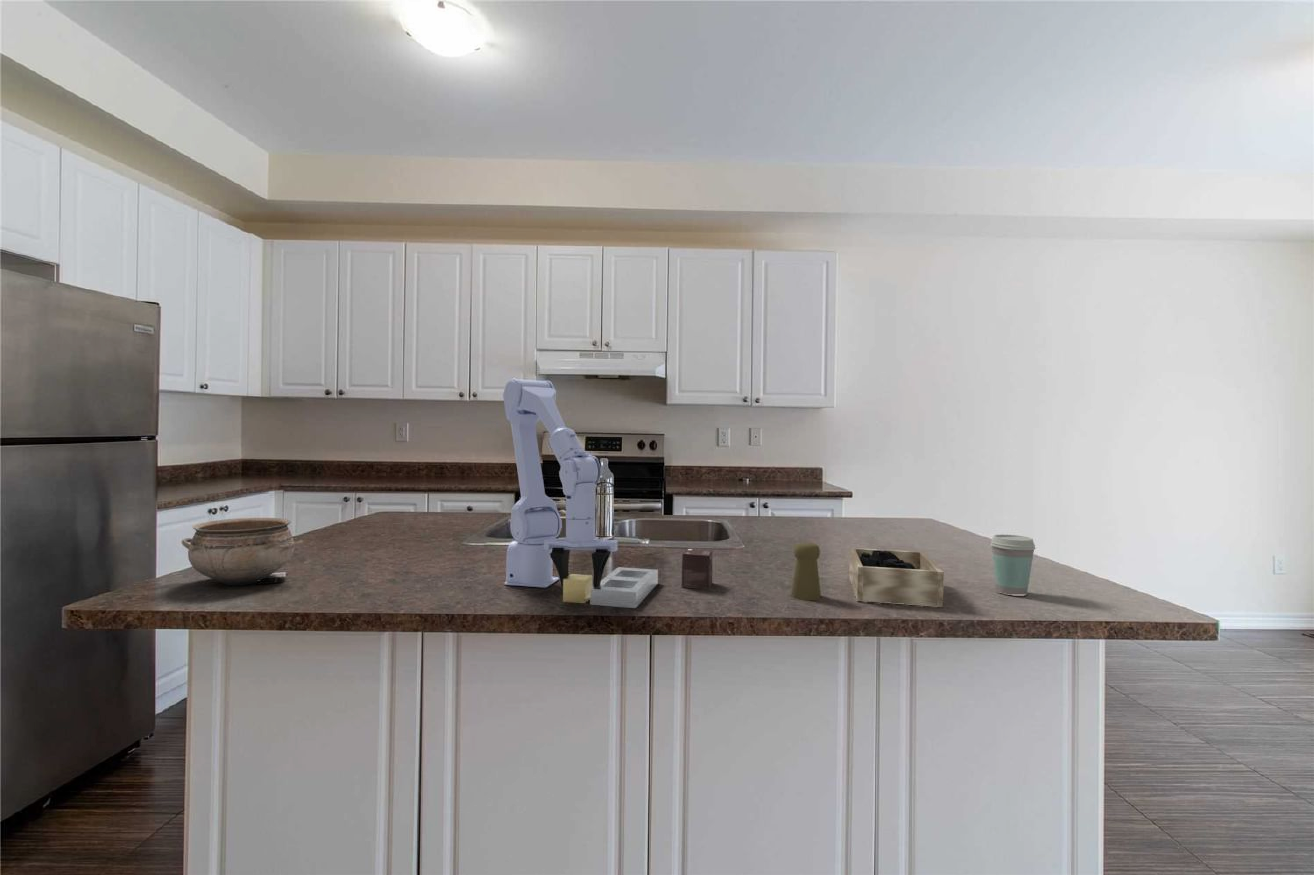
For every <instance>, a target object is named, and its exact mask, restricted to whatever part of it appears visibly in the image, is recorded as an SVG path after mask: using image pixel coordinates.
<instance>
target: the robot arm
mask: <svg viewBox="0 0 1314 875" xmlns="http://www.w3.org/2000/svg"><path fill="white" fill-rule="evenodd" d="M502 398H503V405H504V411H505V417H506V420H508V421H509V422H510V427H511V434H512V441H513V447H514V448H513V450H514V457H515V464H516V469H517V477H518V483H519V484H518V485H519V492H520V499H519V500H517V501H516V502H515V503H514V505H513V506H512V508H511V509H510V524H509V525H510V529H509V530H510V533H511V536H512V537H513V539H514V540H512V541H511V542H509V544H508V546H507V550H506V557H505V558H506V560H505V563H506V564H505V565H506V566H505V567H506V568H505V582H504V585H505V586H506V585H507V586H521V587H531V588H532V587H533V588H534V587H535V588H544V589H545V588H547V587H549V586H552V584H554V583H555V582H557V581H558V580H559V581H560V585H561V588H563V579H564V578H566V577H567V576H569V575H570V574H569V565H570V564H569V563H570V562H569V561H570V554H571V551H594V552H592V553H591V560H592V570H593V576H592V587H598V586H599V585H600V583H601V580H602V579H603V578H602V577H603V574H604V570H605V567H606V565H607V561H608V560H609V558H610V555H611V553H615V552H617V551H618V549H619V548H618V544H619V543H618V540H615V539H614V540H611V539H601V538H596V485H597V484H598V483H599V481H600V479H601V476H602V475H601V474H602V469H601V468H602V467H601V465H600V461H599V459H598V457H596V456H595V455H592V454H591V453H590V452H586V450H585V448H584V446H583V445H582V443H581V441H580V439H579V437H578V436H577V433H576V432H575V431H574V430H573V429H572V428H569V427H567V426H566V424H565V422H564V420H563V417H562V415H561V413H560V411H559V408H558V406H557V402H556V401H557V390H556V388H555V387H554V384H553V383H552V381H550V380H535V379H519V378H513V377H512V378H510V379H509V380H508V381H507V383H506V385H505V388H504V390H503V393H502ZM540 421H541V423H542V425H543V426H544V427H545V429H546V430H547V432H548V433H549V435H550V437H549V439H548V444H549V447H550V449H551V450H552V452H553V454H554V457H555V458H556V460H557V462H558V463H559V466H560V470H559V471H558V474H559V479H560V482H561V484H562V492H563V495H565V537H564V538H562V537H561V538H557V537H558V536H559V535H560V534H561V531H562V528H563V520H562V517H561V515H560V513H559V509H558V507H557V502H556V501H554V500H553V499H552V498H550V497H549V496H548V495H547V494H546V492H545V484H544V478H543V471H542V466H541V465H542V464H541V457H540V452H539V451H540V450H539V444H538V438H537V436H538V435H537V431H536V425H537V423H539V422H540ZM553 563H554V564H553ZM553 565H554V566H555V568H556V570H557V573H558V576H553V571H554V570H553Z"/></svg>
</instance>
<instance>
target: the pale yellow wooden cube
mask: <svg viewBox="0 0 1314 875" xmlns="http://www.w3.org/2000/svg"><path fill="white" fill-rule="evenodd" d="M592 587H593V575H592V574H579V573H578V574H576V573H570V574H569V576H567V577H566V578H564V579H563V587H562V602H564V603H574V604H575V603H577V604H586V603H588V601H590V589H591V588H592Z"/></svg>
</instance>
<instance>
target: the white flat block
mask: <svg viewBox="0 0 1314 875" xmlns="http://www.w3.org/2000/svg"><path fill="white" fill-rule="evenodd" d="M658 584H659V570H658V569H649V568H636V567H623V566H621V567H620V566H619V567H616V568H615V569H614V570H612V571H611V572H610V573H608V575H606V576H605V577H604V578H601V583H600V585H599V586H598V587H593V586H592V588H591V589H590V600H589V605H592V606H602V607H604V606H605V607H617V608H628V609H629V608H630V609H637V607H638V606H639V605H640V604H641V603H642V602H643V601H644V600H645V598H647V597H648V595H649V594H650V592H652V590H654V588H655V587H656V586H657V585H658Z"/></svg>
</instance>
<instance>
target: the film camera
mask: <svg viewBox="0 0 1314 875" xmlns="http://www.w3.org/2000/svg"><path fill="white" fill-rule="evenodd" d="M880 550H881V549H879V550H878V551H873V552H872V555H870V554H869V553H865V552H863V553H862V554H861V556H860V557H859V559H860V561H861V563H862V565H863V566H868V567H884V568H901V569H915V567H914V566H913V565H912V564H911V563H908V562H903V560H900V559H899V558H898V557H896V556H895V555H894V554H892V553H891V552H888V551H883V552H882V551H880Z"/></svg>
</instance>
